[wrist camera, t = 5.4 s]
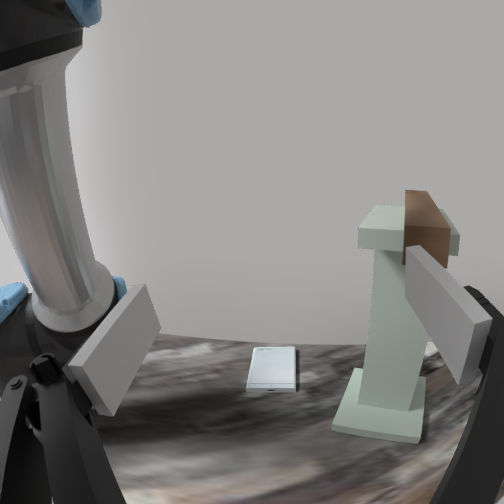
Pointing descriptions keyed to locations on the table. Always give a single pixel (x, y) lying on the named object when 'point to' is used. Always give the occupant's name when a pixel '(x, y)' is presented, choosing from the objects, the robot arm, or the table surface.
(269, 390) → the hard drive
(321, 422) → the table surface
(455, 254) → the sage stand
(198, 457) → the table surface
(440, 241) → the walnut bar
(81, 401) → the robot arm
